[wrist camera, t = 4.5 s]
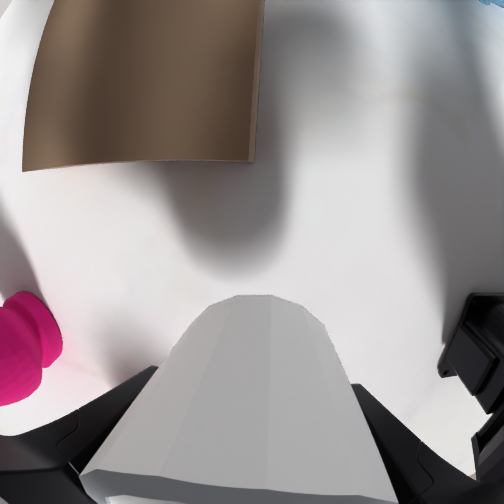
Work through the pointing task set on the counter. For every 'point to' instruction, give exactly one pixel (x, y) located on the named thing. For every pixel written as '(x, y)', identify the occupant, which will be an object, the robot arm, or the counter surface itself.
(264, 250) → the counter surface
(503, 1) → the teapot
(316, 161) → the counter surface
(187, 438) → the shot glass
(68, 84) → the walnut base block
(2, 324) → the pepper mill
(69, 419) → the robot arm
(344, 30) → the counter surface
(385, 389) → the counter surface
